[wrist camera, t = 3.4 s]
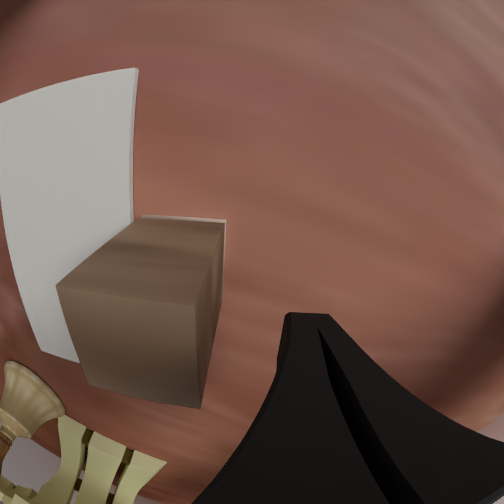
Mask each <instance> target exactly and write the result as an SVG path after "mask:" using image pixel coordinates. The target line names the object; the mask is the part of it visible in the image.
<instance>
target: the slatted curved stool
mask: <svg viewBox="0 0 504 504" xmlns="http://www.w3.org/2000/svg"><path fill="white" fill-rule="evenodd" d="M58 431H59V437H60V445H61V464H60V467H59V470H58V471H57V473H56V474H55V476H54V477H53V478H52V479H51V480H50V481H48V482H47V483H46V484H44V485H43V486H42V487H41V489H40V491H39V492H38V493H36V492H35V491H34V490H33V489H28V488H24V487H21V486H19V485H17V486H15V485H14V484H13V483H12V482H10V481H9V480H7V479H6V478H5V477H3V476H2V475H1V476H0V501H2V502H3V503H4V504H70V501H71V498H72V496H73V493H74V490H76V491H78V492H79V493H78V495H77V498H76V501H75V503H74V504H133V502H134V499H135V497H136V495H137V493H138V492H139V490H140V489H141V488H142V486H144V485H145V484H146V483H147V482H148V481H149V480H150V479H151V478H152V477H153V476H154V475H155V474H156V473H157V472H158V471H159V470H160V469H161V468H162V467H163V466H164V465H165V464H166V463H167V462H166V461H163V460H160V459H157V458H154V457H152V456H149V455H146V454H144V453H141V452H139V451H136V450H134V452H132V451H130V450H128V449H126V446H125V445H122V444H120V443H118V442H116V441H114V440H111V439H109V438H107V437H105V436H103V435H101V434H99V433H97V432H95V431H94V433H92V432H90V431H88V430H86V426H84V425H82V424H80V423H79V422H77V421H75V420H73V419H72V418H70V417H68V416H66V415H65V414H64V415H63V416H62V417H58ZM85 445H86V446H88V456H87V463H86V469H85V473H84V477H83V480H81V479H79V476H80V473H81V470H82V467H83V464H84V460H85ZM121 462H122V463H124V464H127V465H126V466H125V468H124V470H123V472H122V474H121V476H120V479H119V481H118V484H117V487H116V490H115V493H114V494H111V493H109V490H110V487H111V485H112V482H113V479H114V477H115V474H116V472H117V470H118V467H119V465H120V463H121Z"/></svg>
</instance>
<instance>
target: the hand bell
mask: <svg viewBox="0 0 504 504" xmlns="http://www.w3.org/2000/svg"><path fill="white" fill-rule="evenodd" d="M4 374H5V387H4V391H3V394H2V397H1V400H0V419H1V422H2V427H1V429H0V476H1V469H2V462H3V459H4V457H5V455H6V454H7V452H8V450H9V449H10V446H11V445H12V442H13V441H14V440H15V438H16V437H24V438H31V437H32V436H33V434H34V433H35V432H36V430H37V429H38V428H39V427H40V426H41V425H42V424H43V423H45V422H46V421H48V420H50V419H57V418H58V417H62V416H63V415H64V414H65V409H64V406H63V404H62V402H61V401H60V399H59V398H58V396H57V395H56V394H55V393H54V391H53V390H52V389H51V388H50V387H49V386H48V385H47V384H45V383H44V381H42V380H41V379H40V378H39V377H38V376H37V375H36V374H34V373H33V372H32V371H31V370H29V369H28V368H26V367H24V366H23V365H21V364H19V363H17V362H14V361H7V362H6V363H5V365H4Z"/></svg>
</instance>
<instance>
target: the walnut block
mask: <svg viewBox="0 0 504 504" xmlns="http://www.w3.org/2000/svg"><path fill="white" fill-rule="evenodd" d="M225 233H226V220H221V219H207V218H191V217H175V216H158V215H142V216H141V217H139V218H138V219H137V220H135V221H134V222H133V223H131V224H130V225H129V226H127V227H126V228H125V229H123V230H122V231H121V232H119V233H118V234H117V235H115V236H114V237H113V238H111V239H110V240H109V241H108V242H106V243H105V244H104V245H102V246H101V247H100V248H99V249H97V250H96V251H95V252H94V253H92V254H91V255H90V256H89V257H88V258H86V259H85V260H84V261H83V262H82V263H80V264H79V265H78V266H77V267H76V268H74V269H73V270H72V271H71V272H70V273H69V274H67V275H66V276H65V277H64V278H63V279H62V280H61V281H59V282H58V283H57V284H56V285H55V286H56V290H57V294H58V297H59V301H60V305H61V308H62V312H63V315H64V318H65V322H66V325H67V328H68V331H69V334H70V337H71V340H72V342H73V345H74V348H75V351H76V353H77V356H78V359H79V361H80V364H81V366H82V369H83V371H84V374H85V376H86V378H87V381H88V383H89V385H91V386H95V387H98V388H101V389H105V390H109V391H112V392H116V393H120V394H124V395H128V396H132V397H137V398H141V399H146V400H150V401H155V402H161V403H166V404H172V405H178V406H184V407H190V408H198V409H200V408H201V403H202V398H203V392H204V387H205V382H206V377H207V372H208V367H209V362H210V357H211V352H212V347H213V342H214V337H215V332H216V327H217V322H218V317H219V312H220V307H221V303H222V298H223V278H224V254H225Z"/></svg>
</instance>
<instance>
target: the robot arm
mask: <svg viewBox="0 0 504 504" xmlns="http://www.w3.org/2000/svg"><path fill="white" fill-rule="evenodd" d="M503 496H504V442H501V441H498V440H495V439H492V438H489V437H486V436H484V435H482V434H479V433H477V432H475V431H473V430H471V429H468V428H466V427H464V426H462V425H460V424H458V423H457V422H455V421H453V420H451V419H449V418H448V417H446V416H444V415H443V414H441V413H439V412H438V411H436V410H434V409H433V408H431V407H430V406H428V405H427V404H425V403H424V402H422V401H421V400H420V399H418V398H417V397H416V396H414V395H413V394H412V393H410V392H409V391H408V390H406V389H405V388H404V387H402V386H401V385H400V384H399V383H398V382H396V381H395V380H394V379H393V378H392V377H391V376H390V375H388V374H387V373H386V372H385V371H384V370H383V369H382V368H381V367H380V366H379V365H377V364H376V363H375V362H374V361H373V360H372V359H371V358H370V357H369V356H368V355H367V354H366V353H365V352H364V351H363V350H362V349H361V348H360V347H359V346H358V345H357V343H356V342H355V341H354V340H353V339H352V338H351V337H350V336H349V335H348V334H347V333H346V332H345V331H344V330H343V329H342V327H341V326H340V325H339V324H338V323H337V322H336V321H335V320H334V319H333V318H332V317H331V316H330V315H329V314H317V313H297V312H289V313H287V314H286V315H285V318H284V324H283V329H282V335H281V340H280V345H279V351H278V356H277V371H276V374H275V377H274V380H273V382H272V385H271V387H270V389H269V392H268V394H267V396H266V398H265V400H264V402H263V404H262V406H261V408H260V410H259V412H258V414H257V416H256V418H255V419H254V421H253V423H252V425H251V427H250V428H249V430H248V432H247V433H246V435H245V436H244V438H243V440H242V441H241V443H240V444H239V446H238V447H237V448H236V450H235V451H234V453H233V454H232V456H231V457H230V458H229V460H228V461H227V462H226V464H225V465H224V467H223V468H222V469H221V471H220V472H219V473H218V474H217V476H216V477H215V478H214V479H213V480H212V482H211V483H210V484H209V485H208V486H207V487H206V488H205V490H204V491H203V492H202V493H201V494H200V495H199V496H198V497H197V498H196V499H195V500H194V501H193V503H192V504H493V503H494V502H495V501H497V500H498V499H500V498H501V497H503ZM0 504H4V503H3V502H2V501H0Z"/></svg>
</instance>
